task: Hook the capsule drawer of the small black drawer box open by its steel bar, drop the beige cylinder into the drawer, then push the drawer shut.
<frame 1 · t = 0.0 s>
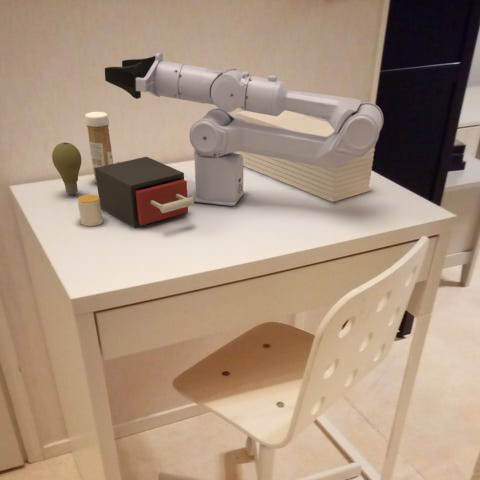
hand: (114, 70, 114), 22 cm above the table, tool horizontal, fingers open, 7 cm apart
spice jar: (105, 183, 130), on the table
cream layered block: (298, 177, 135), on the table
black drawer box: (142, 210, 118), on the table
beige cylinder: (92, 222, 113), on the table
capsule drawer: (154, 197, 113), point 4 cm above the table, slide at 0.5 cm
light bulb: (72, 195, 124), on the table
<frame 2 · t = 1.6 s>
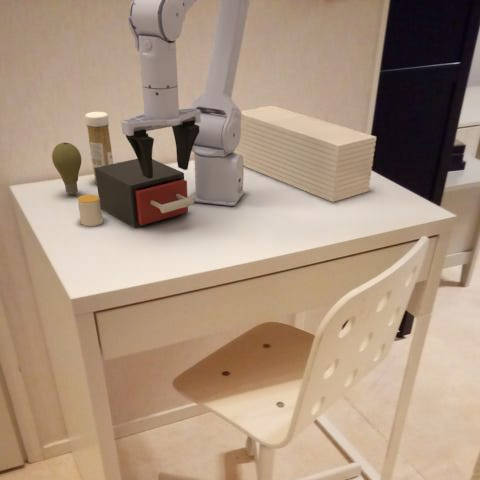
hand: (165, 172, 107), 9 cm above the table, tool pointing down, fingers open, 7 cm apart
nothing on the table moved.
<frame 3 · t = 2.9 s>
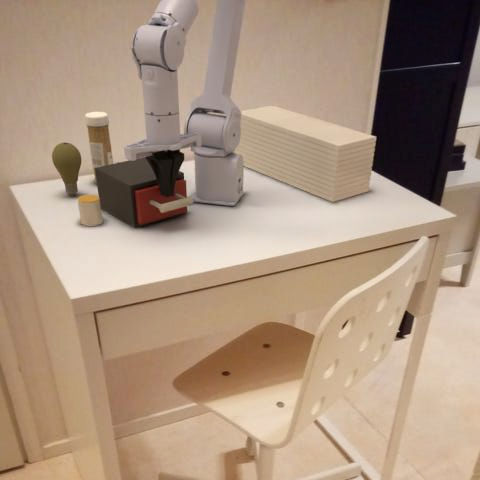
hand: (167, 194, 109), 6 cm above the table, tool pointing down, fingers closed
nothing on the table moved.
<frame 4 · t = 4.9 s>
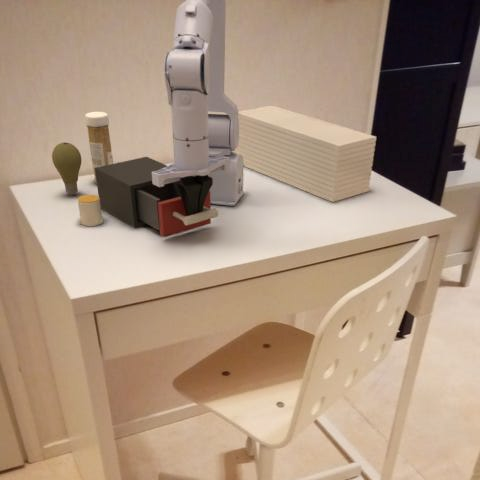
hand: (193, 219, 106), 3 cm above the table, tool pointing down, fingers closed, pressing on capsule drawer
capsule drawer: (176, 208, 109), point 4 cm above the table, slide at 7.5 cm, touching gripper
everything else where it was.
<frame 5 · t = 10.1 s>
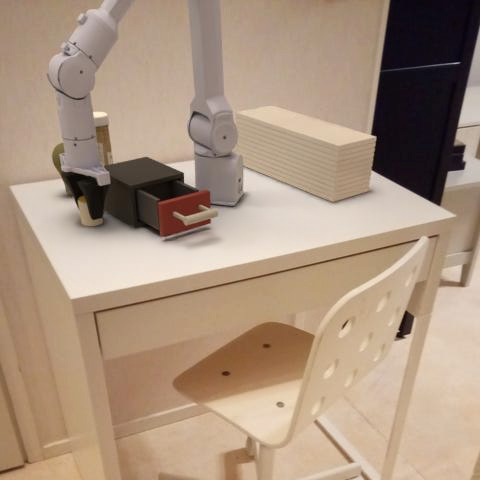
hand: (91, 214, 112), 1 cm above the table, tool pointing down, fingers closed on beige cylinder, 4 cm apart
beige cylinder: (92, 222, 113), on the table, touching gripper
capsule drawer: (176, 208, 109), point 4 cm above the table, slide at 7.5 cm
everything else where it was.
when the fingers open (5 cm above the table, at t = 14.5 s): beige cylinder drops 2 cm, resting on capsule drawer.
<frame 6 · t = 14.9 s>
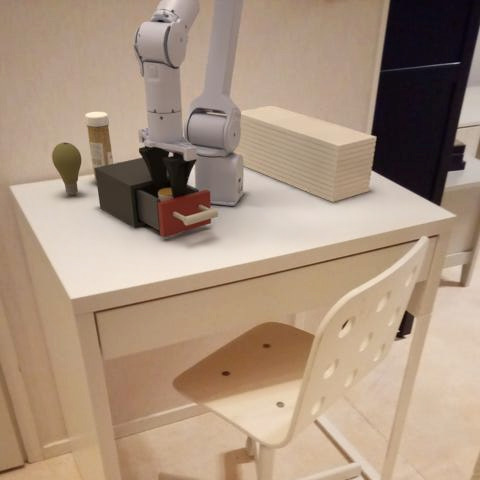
hand: (169, 193, 108), 6 cm above the table, tool pointing down, fingers open, 5 cm apart
beige cylinder: (170, 215, 111), point 2 cm above the table, touching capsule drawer
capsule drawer: (176, 208, 109), point 4 cm above the table, slide at 7.6 cm, touching beige cylinder
everything else where it was.
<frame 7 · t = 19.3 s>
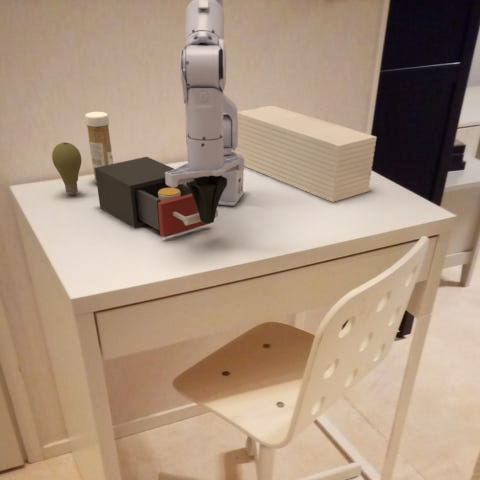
hand: (207, 221, 103), 4 cm above the table, tool pointing down, fingers closed, pressing on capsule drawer
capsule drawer: (176, 208, 109), point 4 cm above the table, slide at 7.5 cm, touching beige cylinder, gripper
everything else where it was.
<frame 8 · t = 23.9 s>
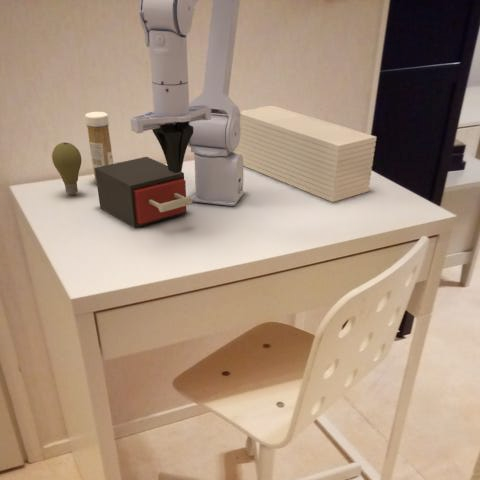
hand: (175, 171, 104), 10 cm above the table, tool pointing down, fingers closed
beige cylinder: (148, 203, 115), point 2 cm above the table, touching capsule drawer
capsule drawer: (152, 197, 113), point 4 cm above the table, slide at 0.0 cm, touching beige cylinder
everything else where it was.
at the end: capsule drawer pulled out 7.6 cm at the most during the clip, back to where it started at the end; beige cylinder inside the target area in the black drawer box (1.9 cm from its centre), point 2.0 cm above the black drawer box's base; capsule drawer slide at 0.0 cm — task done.
